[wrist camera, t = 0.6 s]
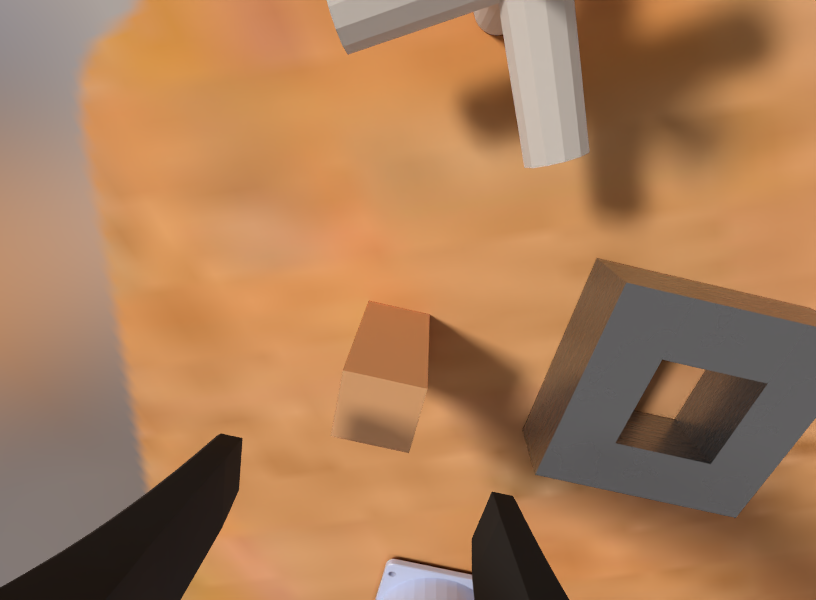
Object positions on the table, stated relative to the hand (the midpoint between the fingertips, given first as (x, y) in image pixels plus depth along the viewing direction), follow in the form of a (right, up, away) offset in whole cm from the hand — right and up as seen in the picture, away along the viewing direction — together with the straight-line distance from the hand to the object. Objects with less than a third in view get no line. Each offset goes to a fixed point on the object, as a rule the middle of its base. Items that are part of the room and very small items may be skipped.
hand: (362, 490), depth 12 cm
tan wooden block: (+1, +4, +9) cm, 9 cm away
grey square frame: (+13, +2, +9) cm, 16 cm away
